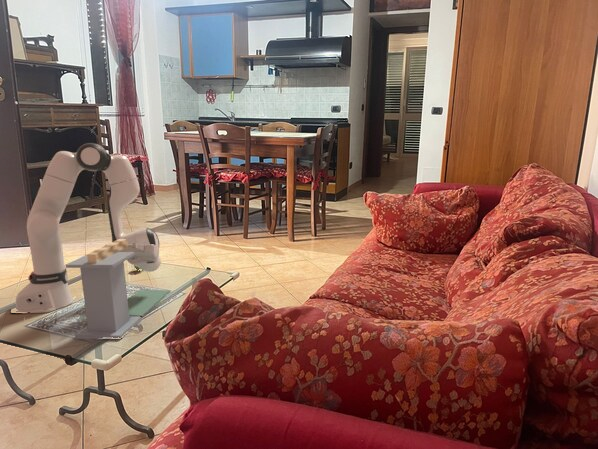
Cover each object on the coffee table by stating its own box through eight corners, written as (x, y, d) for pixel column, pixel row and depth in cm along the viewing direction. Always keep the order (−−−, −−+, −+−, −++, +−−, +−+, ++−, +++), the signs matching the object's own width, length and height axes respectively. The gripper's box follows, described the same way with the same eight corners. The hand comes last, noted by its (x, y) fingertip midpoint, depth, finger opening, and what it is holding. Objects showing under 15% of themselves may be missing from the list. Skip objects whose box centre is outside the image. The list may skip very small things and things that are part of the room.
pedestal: (100, 319, 166) (92, 252, 161) (141, 320, 164) (134, 252, 159) (75, 339, 150) (65, 264, 145) (120, 339, 149) (112, 264, 144)
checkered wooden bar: (120, 246, 168) (119, 238, 167) (127, 246, 168) (126, 238, 167) (87, 263, 146) (86, 254, 146) (96, 263, 146) (95, 254, 145)
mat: (139, 291, 196) (139, 290, 196) (170, 291, 195) (170, 290, 194) (107, 316, 169) (106, 315, 168) (142, 317, 167) (142, 315, 167)
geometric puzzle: (126, 267, 226) (131, 256, 222) (136, 263, 231) (142, 253, 228) (134, 277, 224) (140, 266, 220) (145, 273, 230) (151, 262, 226)
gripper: (114, 247, 181) (97, 237, 168) (163, 247, 180) (149, 236, 167) (112, 262, 179) (94, 253, 166) (161, 262, 178) (147, 253, 164)
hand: (122, 245), depth 166 cm, fingers open, 8 cm apart
